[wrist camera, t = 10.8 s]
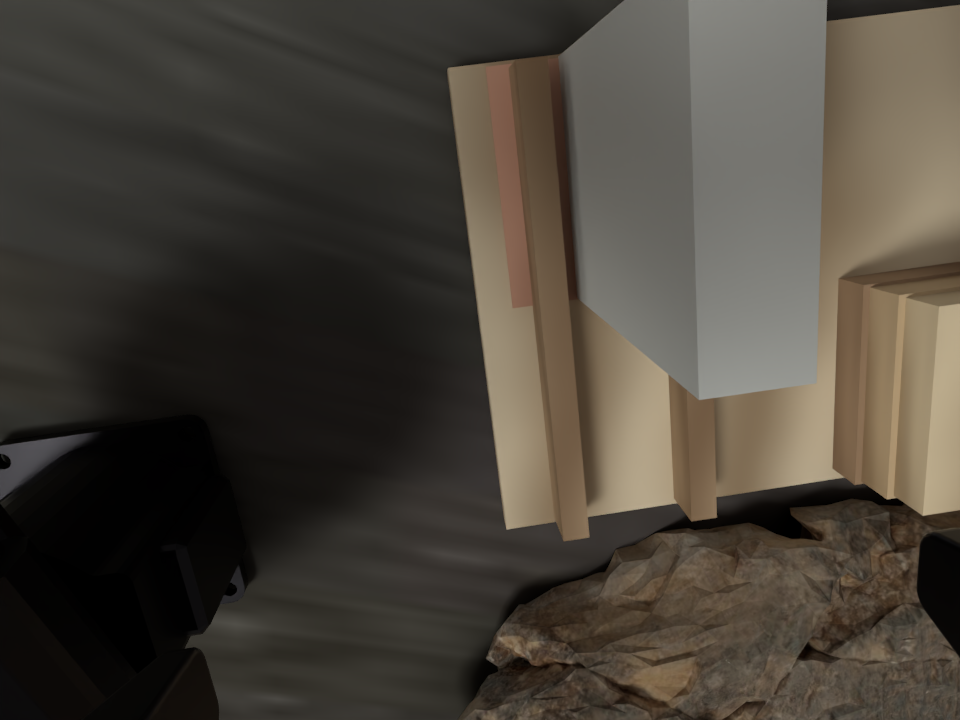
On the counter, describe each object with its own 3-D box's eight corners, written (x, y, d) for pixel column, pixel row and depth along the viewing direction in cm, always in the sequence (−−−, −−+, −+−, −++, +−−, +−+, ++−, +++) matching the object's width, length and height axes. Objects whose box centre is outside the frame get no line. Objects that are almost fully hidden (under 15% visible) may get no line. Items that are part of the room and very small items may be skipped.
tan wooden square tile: (832, 468, 22) (855, 485, 21) (838, 278, 20) (863, 285, 19) (1004, 442, 22) (1036, 457, 21) (1026, 252, 20) (1062, 257, 19)
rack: (503, 516, 22) (512, 555, 20) (446, 72, 18) (449, 58, 16) (1011, 439, 23) (1074, 467, 21) (1062, -4, 19) (1146, -27, 17)
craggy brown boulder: (447, 839, 27) (926, 785, 27) (449, 981, 22) (1027, 910, 23) (414, 526, 23) (967, 476, 24) (409, 615, 18) (1099, 547, 19)
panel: (577, 298, 19) (698, 400, 11) (557, 56, 18) (687, -53, 9) (643, 288, 20) (816, 383, 11) (631, 47, 18) (828, -70, 9)
